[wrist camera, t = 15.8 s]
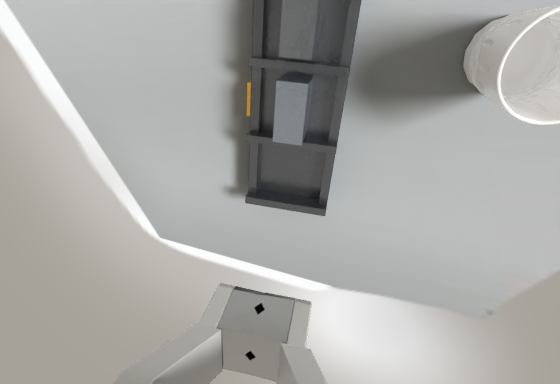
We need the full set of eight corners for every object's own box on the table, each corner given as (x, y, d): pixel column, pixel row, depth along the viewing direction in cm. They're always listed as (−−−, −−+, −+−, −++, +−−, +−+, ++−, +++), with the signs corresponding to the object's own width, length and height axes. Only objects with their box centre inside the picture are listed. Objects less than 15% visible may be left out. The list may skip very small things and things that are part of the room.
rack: (256, -37, 30) (237, -50, 25) (366, -31, 29) (369, -42, 24) (249, 189, 42) (236, 212, 37) (326, 201, 41) (323, 227, 36)
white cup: (459, 106, 33) (499, 136, 24) (452, 26, 30) (494, 27, 21) (550, 83, 30) (629, 107, 22) (551, -8, 27) (645, -21, 19)
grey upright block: (285, 73, 34) (276, 80, 29) (313, 76, 33) (308, 84, 29) (281, 127, 37) (272, 141, 32) (307, 130, 36) (301, 145, 32)
